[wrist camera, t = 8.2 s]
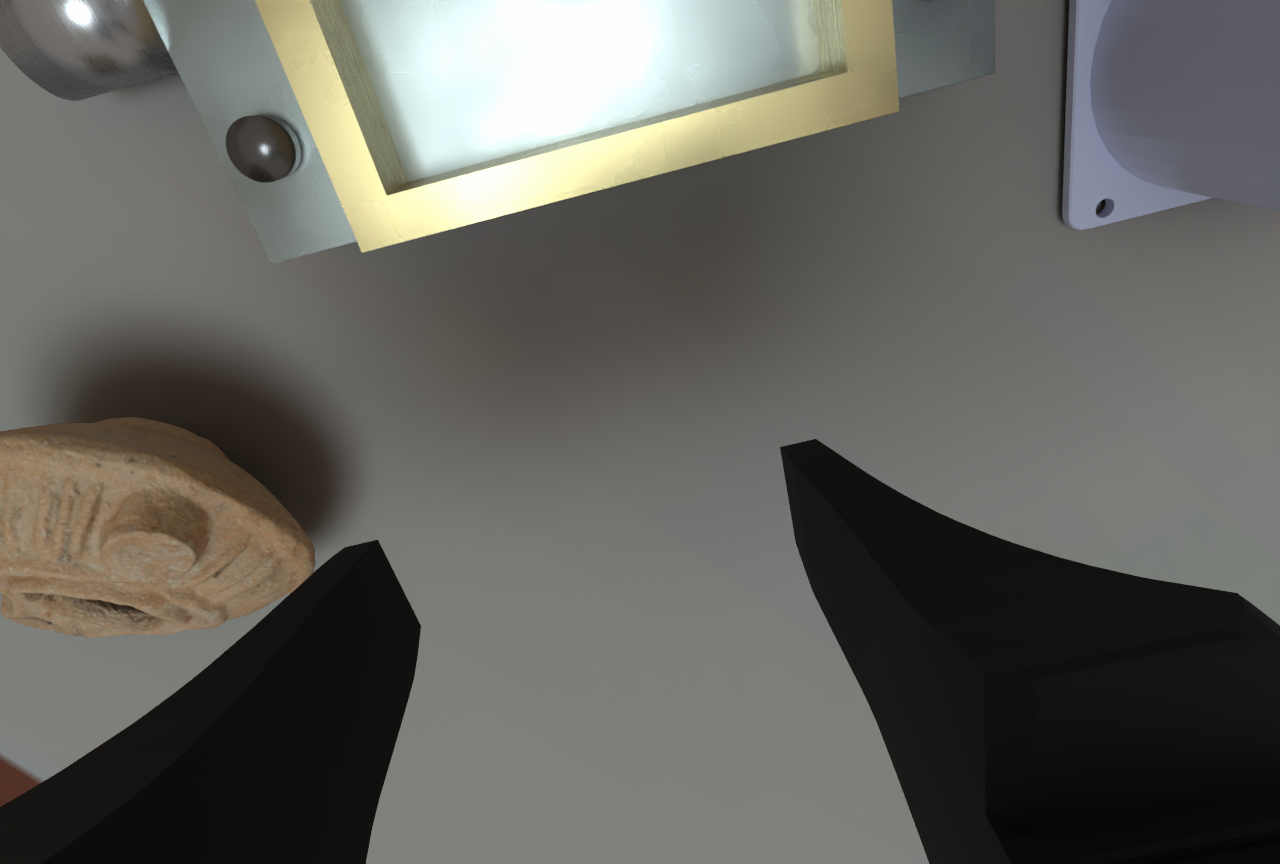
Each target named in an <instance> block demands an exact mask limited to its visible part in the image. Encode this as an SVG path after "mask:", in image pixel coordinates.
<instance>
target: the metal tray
mask: <svg viewBox="0 0 1280 864" xmlns="http://www.w3.org/2000/svg"><path fill="white" fill-rule="evenodd" d="M0 47H1V48H2V50H3V51H4V52H5V53H6V55H7V56H8V57H9V58H10V59H11V60H12V62H13V63H14V64H15V65H16V66H17V67H18V68H19V69H20V70H21V71H22V72H23V73H24V74H25V75H27V76H28V77H29V78H30V79H31V80H32V81H34V82H35V83H36V84H38V85H39V86H40V87H42V88H43V89H45V90H46V91H48V92H50V93H51V94H53V95H55V96H57V97H60V98H63V99H66V100H71V101H79V100H83V99H87V98H90V97H94V96H97V95H101V94H104V93H108V92H111V91H115V90H118V89H122V88H125V87H129V86H132V85H136V84H139V83H143V82H147V81H150V80H154V79H157V78H161V77H164V76H168V75H171V74H175V73H179V75H180V77H181V79H182V81H183V83H184V85H185V87H186V89H187V91H188V93H189V95H190V97H191V99H192V102H193V104H194V106H195V108H196V110H197V112H198V114H199V116H200V118H201V120H202V122H203V124H204V126H205V128H206V130H207V132H208V134H209V136H210V138H211V141H212V143H213V145H214V147H215V149H216V151H217V153H218V155H219V157H220V159H221V161H222V163H223V165H224V167H225V169H226V171H227V173H228V175H229V177H230V179H231V182H232V184H233V186H234V188H235V190H236V192H237V194H238V196H239V198H240V200H241V202H242V204H243V206H244V208H245V210H246V212H247V214H248V216H249V218H250V221H251V223H252V225H253V227H254V229H255V231H256V233H257V235H258V237H259V239H260V241H261V243H262V245H263V247H264V249H265V251H266V253H267V255H268V257H269V259H270V262H271V264H274V263H277V262H281V261H285V260H289V259H292V258H296V257H300V256H304V255H308V254H311V253H315V252H319V251H323V250H327V249H330V248H334V247H338V246H342V245H345V244H349V243H353V242H358V245H359V247H360V250H361V252H362V253H363V252H367V251H370V250H374V249H378V248H382V247H386V246H389V245H393V244H397V243H401V242H405V241H408V240H412V239H416V238H420V237H424V236H427V235H431V234H435V233H439V232H443V231H446V230H450V229H454V228H458V227H462V226H465V225H469V224H473V223H477V222H481V221H484V220H488V219H492V218H496V217H500V216H503V215H507V214H511V213H515V212H519V211H522V210H526V209H530V208H534V207H538V206H541V205H545V204H549V203H553V202H557V201H560V200H564V199H568V198H572V197H576V196H579V195H583V194H587V193H591V192H595V191H598V190H602V189H606V188H610V187H614V186H617V185H621V184H625V183H629V182H633V181H636V180H640V179H644V178H648V177H652V176H655V175H659V174H663V173H667V172H671V171H674V170H678V169H682V168H686V167H690V166H693V165H697V164H701V163H705V162H709V161H712V160H716V159H720V158H724V157H728V156H731V155H735V154H739V153H743V152H747V151H750V150H754V149H758V148H762V147H766V146H769V145H773V144H777V143H781V142H785V141H788V140H792V139H796V138H800V137H804V136H807V135H811V134H815V133H819V132H823V131H826V130H830V129H834V128H838V127H842V126H845V125H849V124H853V123H857V122H861V121H864V120H868V119H872V118H876V117H880V116H883V115H887V114H891V113H895V112H899V98H902V97H905V96H909V95H913V94H917V93H921V92H924V91H928V90H932V89H936V88H939V87H943V86H947V85H951V84H955V83H958V82H962V81H966V80H970V79H973V78H977V77H981V76H985V75H989V74H992V73H995V22H994V0H0Z"/></svg>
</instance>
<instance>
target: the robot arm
mask: <svg viewBox="0 0 1280 864" xmlns="http://www.w3.org/2000/svg"><path fill="white" fill-rule="evenodd" d="M1211 198H1216V199H1221V200H1225V201H1230V202H1235V203H1239V204H1244V205H1249V206H1253V207H1258V208H1263V209H1267V210H1272V211H1277V212H1280V0H1069V29H1068V58H1067V87H1066V117H1065V146H1064V176H1063V205H1062V217H1063V221H1064V223H1065V224H1066V225H1067V226H1069V227H1071V228H1074V229H1077V230H1086V229H1090V228H1094V227H1098V226H1102V225H1106V224H1110V223H1114V222H1118V221H1122V220H1126V219H1130V218H1134V217H1138V216H1143V215H1147V214H1151V213H1155V212H1159V211H1163V210H1167V209H1171V208H1175V207H1179V206H1183V205H1187V204H1191V203H1195V202H1199V201H1203V200H1207V199H1211ZM1104 199H1105V202H1106V204H1105V207H1104V209H1103V210H1102V211H1101V213H1099V214H1097V215H1096V211H1095V210H1096V207H1097V205H1098V204H1099V202H1100V201H1102V200H1104ZM780 449H781V455H782V461H783V467H784V473H785V479H786V486H787V492H788V498H789V504H790V510H791V516H792V522H793V528H794V534H795V540H796V545H797V548H798V550H799V553H800V556H801V559H802V562H803V565H804V568H805V571H806V574H807V576H808V579H809V582H810V585H811V587H812V590H813V593H814V595H815V597H816V599H817V601H818V603H819V605H820V607H821V609H822V611H823V613H824V615H825V617H826V619H827V621H828V623H829V625H830V627H831V629H832V631H833V633H834V635H835V637H836V639H837V641H838V643H839V645H840V647H841V649H842V651H843V653H844V655H845V657H846V659H847V661H848V663H849V665H850V667H851V669H852V671H853V673H854V675H855V677H856V679H857V681H858V683H859V685H860V687H861V689H862V691H863V693H864V695H865V697H866V699H867V701H868V703H869V706H870V708H871V710H872V712H873V715H874V717H875V719H876V721H877V724H878V726H879V729H880V732H881V734H882V737H883V740H884V742H885V745H886V747H887V750H888V753H889V755H890V758H891V761H892V763H893V766H894V768H895V771H896V774H897V776H898V779H899V782H900V784H901V787H902V790H903V793H904V795H905V798H906V801H907V803H908V806H909V809H910V812H911V814H912V817H913V820H914V822H915V825H916V828H917V831H918V833H919V836H920V839H921V841H922V844H923V847H924V850H925V853H926V855H927V858H928V861H929V864H1280V626H1279V625H1278V624H1277V623H1276V622H1275V621H1273V620H1272V619H1271V618H1269V617H1268V616H1267V615H1266V614H1264V613H1263V612H1262V611H1260V610H1259V609H1258V608H1257V607H1255V606H1254V605H1253V604H1251V603H1250V602H1249V601H1247V600H1246V599H1244V598H1243V597H1241V596H1240V595H1239V594H1238V593H1233V592H1227V591H1220V590H1214V589H1208V588H1202V587H1196V586H1190V585H1184V584H1178V583H1172V582H1166V581H1160V580H1154V579H1148V578H1143V577H1138V576H1133V575H1129V574H1124V573H1120V572H1116V571H1111V570H1107V569H1103V568H1098V567H1094V566H1089V565H1086V564H1082V563H1078V562H1074V561H1071V560H1067V559H1063V558H1059V557H1056V556H1053V555H1050V554H1046V553H1043V552H1040V551H1037V550H1034V549H1030V548H1027V547H1024V546H1021V545H1018V544H1015V543H1012V542H1009V541H1006V540H1003V539H1000V538H998V537H995V536H992V535H990V534H987V533H985V532H982V531H980V530H977V529H975V528H972V527H970V526H968V525H965V524H963V523H960V522H958V521H955V520H953V519H951V518H949V517H947V516H944V515H942V514H940V513H938V512H936V511H934V510H932V509H930V508H928V507H926V506H924V505H922V504H920V503H918V502H916V501H914V500H912V499H910V498H908V497H907V496H905V495H903V494H901V493H899V492H898V491H896V490H894V489H892V488H891V487H889V486H887V485H886V484H884V483H882V482H881V481H879V480H877V479H876V478H874V477H872V476H871V475H869V474H868V473H866V472H865V471H863V470H861V469H860V468H858V467H857V466H855V465H854V464H852V463H851V462H849V461H848V460H846V459H845V458H843V457H842V456H840V455H839V454H837V453H836V452H835V451H833V450H832V449H830V448H829V447H827V446H826V445H824V444H822V443H821V442H819V441H818V440H816V439H814V440H810V441H805V442H801V443H797V444H792V445H788V446H783V447H780ZM420 629H421V625H420V623H419V621H418V619H417V617H416V615H415V613H414V611H413V609H412V607H411V605H410V603H409V601H408V599H407V597H406V595H405V593H404V591H403V589H402V587H401V585H400V583H399V581H398V579H397V577H396V575H395V573H394V571H393V569H392V567H391V565H390V563H389V561H388V559H387V557H386V555H385V553H384V551H383V549H382V547H381V545H380V543H379V541H378V540H375V541H371V542H366V543H362V544H358V545H353V546H349V547H345V548H344V549H342V550H341V551H340V552H338V553H337V554H335V555H334V556H333V557H332V558H330V559H329V560H328V561H327V562H326V563H324V564H323V565H322V566H321V567H320V568H319V569H317V570H316V571H315V572H314V573H313V574H312V575H311V576H310V577H308V578H307V579H306V580H305V581H304V582H303V583H302V584H301V585H300V586H299V587H297V588H296V589H295V590H294V591H293V592H292V593H291V594H290V595H289V596H288V597H286V598H285V599H284V600H283V601H282V602H281V603H280V604H279V605H278V606H277V607H275V608H274V609H273V610H272V611H271V612H270V613H269V614H268V615H267V616H266V617H264V618H263V619H262V620H261V621H260V622H259V623H258V624H257V625H256V626H255V627H253V628H252V629H251V630H250V631H249V632H248V633H246V634H245V635H244V636H243V637H242V638H241V639H239V640H238V641H237V642H236V643H235V644H234V645H232V646H231V647H230V648H229V649H228V650H227V651H225V652H224V653H223V654H222V655H221V656H220V657H218V658H217V659H216V660H215V661H214V662H213V663H211V664H210V665H209V666H208V667H207V668H206V669H204V670H203V671H202V672H201V673H199V674H198V675H197V676H196V677H194V678H193V679H192V680H191V681H189V682H188V683H187V684H186V685H184V686H183V687H182V688H180V689H179V690H178V691H177V692H175V693H174V694H173V695H171V696H170V697H169V698H167V699H166V700H165V701H163V702H162V703H160V704H159V705H158V706H156V707H155V708H154V709H152V710H151V711H150V712H148V713H147V714H146V715H144V716H143V717H142V718H140V719H139V720H137V721H136V722H134V723H133V724H132V725H130V726H129V727H127V728H126V729H124V730H123V731H121V732H120V733H118V734H117V735H115V736H114V737H112V738H111V739H109V740H108V741H106V742H105V743H103V744H102V745H100V746H98V747H97V748H95V749H94V750H92V751H91V752H89V753H88V754H86V755H85V756H83V757H82V758H80V759H79V760H77V761H76V762H74V763H73V764H71V765H70V766H68V767H67V768H65V769H63V770H62V771H60V772H59V773H57V774H55V775H54V776H52V777H50V778H49V779H47V780H45V781H44V782H42V783H40V784H39V785H37V786H36V787H34V788H32V789H30V790H29V791H27V792H25V793H24V794H22V795H20V796H19V797H17V798H15V799H13V800H12V801H10V802H8V803H6V804H5V805H3V806H1V807H0V864H366V858H367V853H368V847H369V842H370V836H371V831H372V826H373V822H374V818H375V814H376V810H377V806H378V802H379V798H380V794H381V791H382V787H383V784H384V781H385V777H386V774H387V770H388V767H389V764H390V760H391V757H392V753H393V750H394V747H395V743H396V740H397V736H398V733H399V730H400V726H401V723H402V719H403V716H404V712H405V709H406V705H407V702H408V698H409V695H410V691H411V687H412V683H413V680H414V674H415V668H416V662H417V655H418V647H419V638H420Z"/></svg>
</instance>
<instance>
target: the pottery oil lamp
mask: <svg viewBox="0 0 1280 864" xmlns="http://www.w3.org/2000/svg"><path fill="white" fill-rule="evenodd" d="M314 566H315V549H314V546H313V544H312V543H311V540H310V538H309V537H308V535H307V533H306V532H305V531H304V530H303V529H302V528H301V526H300V525H299V523H298V522H297V521H296V520H295V519H294V518H293V516H291V514H290V513H289V512H288V511H287V509H286V508H285V507H284V506H283V505H282V504H281V503H280V502H279V501H278V500H277V499H276V497H275V496H274V495H273V494H272V493H271V492H270V491H269V490H268V489H267V488H265V487H264V486H263V485H262V484H261V483H260V482H259V481H258V480H256V479H255V478H254V477H253V476H252V475H250V474H249V473H248V472H246V471H245V470H243V469H242V468H240V467H239V466H237V465H236V464H234V463H232V462H231V461H230V460H229V459H228V458H227V457H226V456H225V454H224V453H223V452H222V451H221V450H220V449H219V448H218V447H217V446H216V445H215V444H214V443H212V442H211V441H210V440H208V439H205V438H203V437H199V436H197V435H196V434H194V433H192V432H190V431H188V430H186V429H183V428H180V427H177V426H174V425H171V424H168V423H164V422H159V421H155V420H149V419H145V418H137V417H123V418H113V419H106V420H103V421H99V422H96V423H57V424H50V425H44V426H37V427H27V428H21V429H15V430H7V431H1V432H0V593H2V604H1V612H2V614H3V616H4V617H6V618H9V619H11V620H13V621H15V622H17V623H21V624H24V625H27V626H31V627H36V628H43V629H50V630H53V631H57V632H60V633H64V634H69V635H74V636H85V637H87V638H89V637H105V636H115V635H133V634H143V635H169V634H173V633H176V632H180V631H184V630H190V629H204V628H213V627H217V626H220V625H221V624H223V623H224V622H225V621H226V620H230V619H236V618H239V617H242V616H245V615H248V614H250V613H253V612H255V611H257V610H258V609H261V608H263V607H265V606H267V605H269V604H270V603H272V602H274V601H275V600H277V599H278V598H280V597H282V596H283V595H285V594H288V593H291V592H293V591H294V590H295V589H296V588H297V587H299V586H300V585H301V584H302V583H303V582H304V581H305V580H306V579H307V578H308V577H310V576H311V575H312V573H313V569H314Z"/></svg>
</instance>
